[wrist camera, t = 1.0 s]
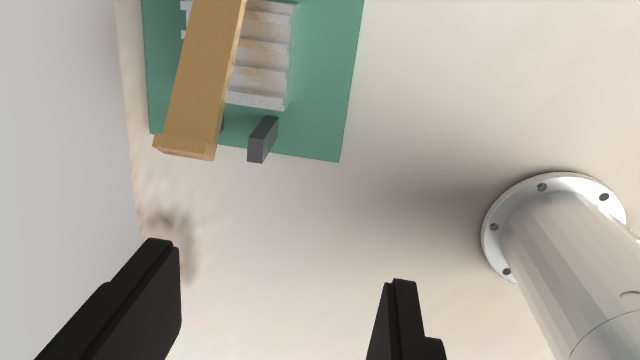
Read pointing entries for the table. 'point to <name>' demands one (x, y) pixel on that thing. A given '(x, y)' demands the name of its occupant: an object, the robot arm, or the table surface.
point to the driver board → (307, 85)
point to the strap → (202, 80)
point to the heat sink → (262, 54)
